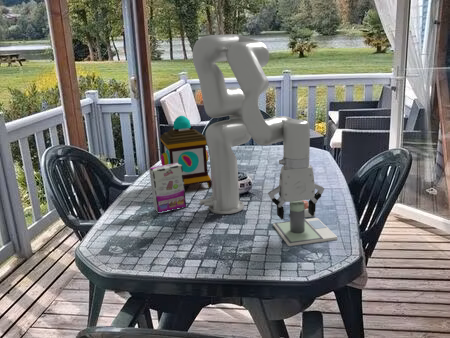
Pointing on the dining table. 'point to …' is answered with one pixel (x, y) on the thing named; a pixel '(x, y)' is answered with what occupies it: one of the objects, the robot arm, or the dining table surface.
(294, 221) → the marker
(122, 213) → the dining table surface
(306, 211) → the button housing
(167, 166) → the candy bar box
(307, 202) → the button
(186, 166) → the decorative lantern
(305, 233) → the picture board
